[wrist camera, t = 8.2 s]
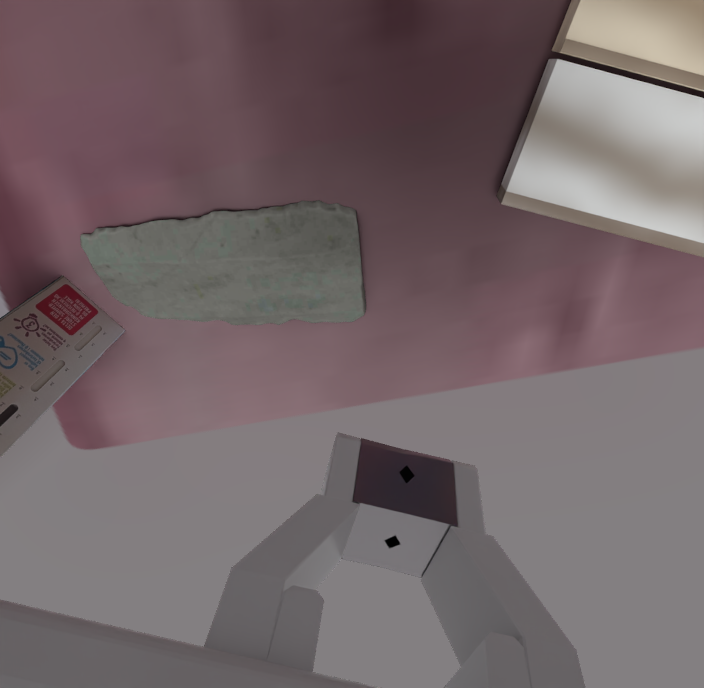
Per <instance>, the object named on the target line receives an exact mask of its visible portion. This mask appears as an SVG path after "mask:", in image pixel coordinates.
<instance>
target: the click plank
mask: <svg viewBox="0 0 704 688" xmlns="http://www.w3.org/2000/svg"><path fill="white" fill-rule="evenodd" d="M497 198H498V199H499V201H500V203H501V204H503V205H507V206H511V207H515V208H518V209H522V210H526V211H530V212H534V213H537V214H541V215H545V216H549V217H553V218H556V219H560V220H564V221H568V222H572V223H575V224H579V225H583V226H587V227H591V228H594V229H598V230H602V231H606V232H610V233H613V234H617V235H621V236H625V237H629V238H632V239H636V240H640V241H644V242H648V243H651V244H655V245H659V246H663V247H667V248H670V249H674V250H678V251H682V252H685V253H689V254H693V255H697V256H701V257H704V98H701V97H698V96H694V95H690V94H686V93H683V92H679V91H675V90H672V89H668V88H664V87H660V86H657V85H653V84H649V83H646V82H642V81H638V80H634V79H631V78H627V77H623V76H620V75H616V74H612V73H608V72H605V71H601V70H597V69H594V68H590V67H586V66H582V65H579V64H575V63H571V62H568V61H564V60H560V59H549V60H548V63H547V65H546V68H545V70H544V73H543V76H542V78H541V81H540V84H539V86H538V89H537V91H536V94H535V97H534V99H533V102H532V105H531V107H530V110H529V112H528V115H527V118H526V120H525V123H524V126H523V128H522V131H521V133H520V136H519V139H518V141H517V144H516V147H515V149H514V152H513V154H512V157H511V160H510V162H509V165H508V168H507V170H506V173H505V175H504V178H503V181H502V183H501V186H500V188H499V191H498V194H497Z"/></svg>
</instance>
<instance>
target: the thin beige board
mask: <svg viewBox="0 0 704 688" xmlns="http://www.w3.org/2000/svg"><path fill="white" fill-rule="evenodd" d="M552 51H554V52H558V53H562V54H565V55H569V56H573V57H576V58H580V59H584V60H588V61H591V62H595V63H599V64H602V65H606V66H610V67H614V68H617V69H621V70H625V71H628V72H632V73H636V74H640V75H643V76H647V77H651V78H654V79H658V80H662V81H666V82H669V83H673V84H677V85H680V86H684V87H688V88H692V89H695V90H699V91H703V92H704V0H571V3H570V5H569V8H568V10H567V13H566V15H565V18H564V21H563V23H562V26H561V28H560V31H559V33H558V36H557V38H556V41H555V44H554V46H553V49H552Z"/></svg>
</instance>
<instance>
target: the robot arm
mask: <svg viewBox="0 0 704 688" xmlns="http://www.w3.org/2000/svg"><path fill="white" fill-rule="evenodd" d="M341 559H344V560H349V561H353V562H358V563H364V564H368V565H373V566H377V567H382V568H386V569H389V570H393V571H397V572H401V573H404V574H408V575H412V576H416V577H419V578H422V579H421V582H422V584H423V586H424V588H425V590H426V592H427V595H428V597H429V599H430V601H431V603H432V605H433V607H434V610H435V612H436V614H437V616H438V618H439V620H440V623H441V624H442V627H443V629H444V631H445V633H446V635H447V638H448V640H449V642H450V644H451V646H452V648H453V650H454V653H455V655H456V657H457V659H458V661H459V663H460V666H461V668H460V669H459V670H458V671H457V672H456V674H455V675H454V676H453V677H452V678H451V680H450V681H449V682H448V683H447V685H446V686H445V687H444V688H585V684H584V680H583V676H582V672H581V668H580V664H579V660H578V655H577V651H576V649H575V648H574V646H573V645H572V644H571V642H570V641H569V639H568V638H567V637H566V636H565V634H564V633H563V631H562V630H561V629H560V627H559V626H558V624H557V623H556V622H555V620H554V619H553V618H552V616H551V615H550V614H549V612H548V611H547V610H546V608H545V607H544V605H543V604H542V602H541V601H540V600H539V598H538V597H537V596H536V594H535V593H534V592H533V590H532V589H531V588H530V586H529V585H528V583H527V582H526V581H525V579H524V578H523V576H522V575H521V574H520V572H519V571H518V570H517V568H516V567H515V566H514V564H513V563H512V561H511V560H510V559H509V557H508V556H507V555H506V553H505V552H504V550H503V549H502V548H501V546H500V545H499V544H498V542H497V541H496V539H494V537H493V536H491V535H487V534H486V532H485V523H484V516H483V508H482V500H481V492H480V484H479V476H478V470H477V468H476V467H475V466H474V465H470V464H465V463H461V462H457V461H450V460H448V459H444V458H440V457H435V456H431V455H427V454H422V453H418V452H414V451H409V450H403V449H400V448H396V447H392V446H389V445H385V444H381V443H378V442H374V441H370V440H366V439H362V438H361V439H360V438H357V437H353V436H350V435H346V434H342V433H337V435H336V438H335V441H334V445H333V449H332V452H331V456H330V460H329V463H328V466H327V470H326V474H325V478H324V482H323V486H322V489H321V494H317V495H315V496H314V497H313V498H312V499H311V500H310V501H308V502H307V503H306V504H305V505H304V506H303V507H302V508H300V509H299V510H298V511H297V512H296V513H295V514H293V515H292V516H291V517H290V518H289V519H288V520H286V521H285V522H284V523H283V524H282V525H281V526H280V527H278V528H277V529H276V530H275V531H274V532H273V533H271V534H270V535H269V536H268V537H267V538H266V539H264V540H263V541H262V542H261V543H260V544H259V545H257V547H255V548H254V549H253V550H252V551H251V552H249V553H248V554H247V555H246V556H245V557H244V558H243V559H241V560H240V561H239V562H238V563H237V564H236V565H234V566H233V567H232V568H231V571H230V574H229V577H228V580H227V582H226V585H225V588H224V591H223V594H222V596H221V599H220V602H219V605H218V608H217V611H216V613H215V617H214V619H213V622H212V625H211V628H210V631H209V633H208V636H207V639H206V642H205V645H204V647H203V646H198V645H194V644H190V643H186V642H181V641H177V640H173V639H168V638H164V637H160V636H156V635H151V634H146V633H142V632H138V631H134V630H130V629H125V628H121V627H116V626H112V625H108V624H103V623H99V622H95V621H90V620H86V619H82V618H78V617H73V616H69V615H65V614H61V613H56V612H52V611H47V610H43V609H39V608H34V607H30V606H26V605H21V604H17V603H12V602H9V601H4V600H0V688H379V687H375V686H371V685H367V684H363V683H358V682H354V681H350V680H345V679H341V678H337V677H332V676H328V675H323V674H319V673H315V672H313V666H314V660H315V653H316V647H317V641H318V634H319V628H320V622H321V615H322V609H323V603H324V600H323V598H322V597H321V595H320V594H319V593H318V591H317V590H316V589H317V588H318V587H319V585H320V584H321V583H322V582H323V581H324V580H325V578H326V577H327V576H328V575H329V574H330V573H331V571H332V570H333V569H334V568H335V567H336V565H337V564H338V563H339V562H340V560H341Z"/></svg>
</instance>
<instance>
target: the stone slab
mask: <svg viewBox="0 0 704 688" xmlns="http://www.w3.org/2000/svg"><path fill="white" fill-rule="evenodd" d="M80 240H81V247H82V248H83V250H84V251H85V253H86V254H87V256H88V258H89V261H90V263H91V265H92V267H93V269H94V270H95V271H96V273H97V274H98V276H99V277H100V278H101V280H102V281H103V283H104V284H105V285H106V287H107V288H108V290H109V291H110V293H111V294H112V296H113V297H114V298H115V299H117V300H118V301H120V302H121V303H122V304H124V305H126V306H131V307H134V308H135V309H136V310H138V311H139V312H140V314H141V315H144V316H147V317H152V318H157V319H178V320H192V321H201V322H206V321H212V320H222V321H226V322H228V323H230V324H232V325H243V324H253V325H262V324H265V323H274V324H277V325H280V324H282V323H285V322H287V321H289V320H292V319H298V320H302V321H306V322H310V323H319V322H353V321H355V320H356V319H358V318H360V317H362V316H363V315H364V314H365V310H366V300H365V290H364V284H363V277H362V269H361V257H360V244H359V232H358V224H357V214H356V210H354V209H353V208H350V207H344V206H342V205H340V204H338V203H335V204H326V203H324V202H322V201H320V200H318V201H313V202H311V201H300V202H299V203H292V204H288V205H286V206H283V207H279V206H276V207H270V208H261V209H259V210H247V211H237V212H230V211H213V212H211V213H209V214H208V215H203V216H202V217H200V218H188V219H185V220H176V219H170V220H157V221H151V222H147V223H143V224H140V225H134V226H131V227H124V226H120V227H117V228H107V227H105V228H100V229H99V228H96V229H95V231H94V232H93V233H92V234H82V235H81V236H80Z"/></svg>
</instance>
